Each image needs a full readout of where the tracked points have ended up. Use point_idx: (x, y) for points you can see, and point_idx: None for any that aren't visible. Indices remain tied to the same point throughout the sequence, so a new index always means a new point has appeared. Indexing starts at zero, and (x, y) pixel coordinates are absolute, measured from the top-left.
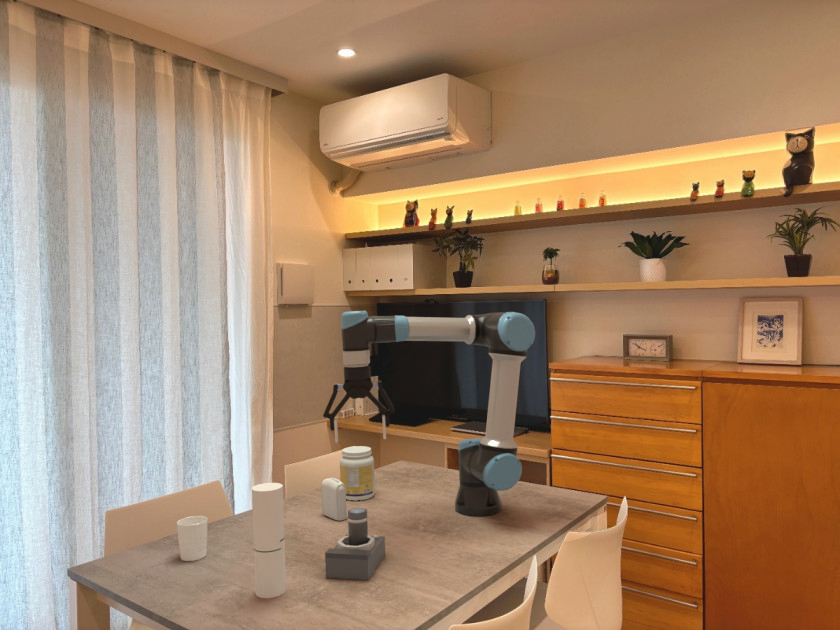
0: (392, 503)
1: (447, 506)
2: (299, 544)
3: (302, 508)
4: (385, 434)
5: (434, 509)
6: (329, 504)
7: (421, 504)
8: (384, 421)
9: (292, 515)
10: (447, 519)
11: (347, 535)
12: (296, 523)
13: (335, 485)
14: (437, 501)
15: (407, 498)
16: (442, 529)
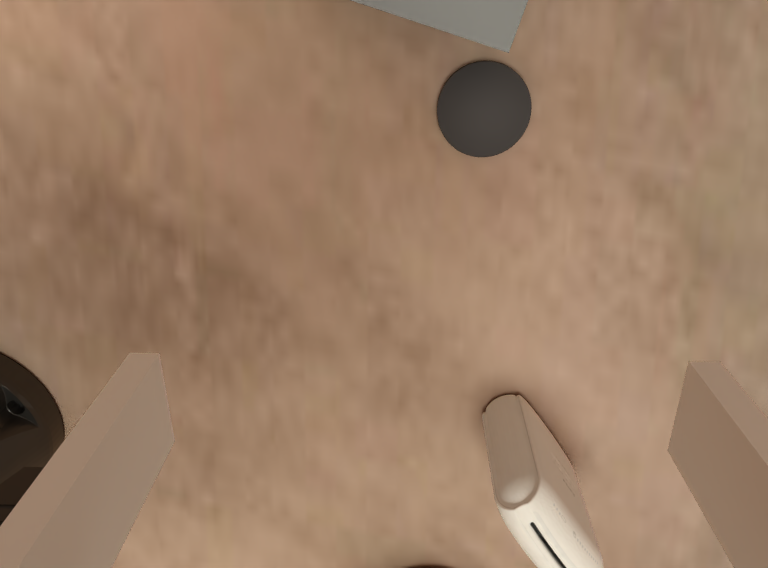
0: (304, 523)
1: None
2: (692, 179)
3: (643, 538)
4: (113, 384)
5: None
6: (557, 460)
7: (195, 494)
8: (30, 503)
9: None
10: (86, 334)
11: (501, 38)
12: None
13: (546, 503)
14: None
15: (250, 557)
16: (98, 235)
